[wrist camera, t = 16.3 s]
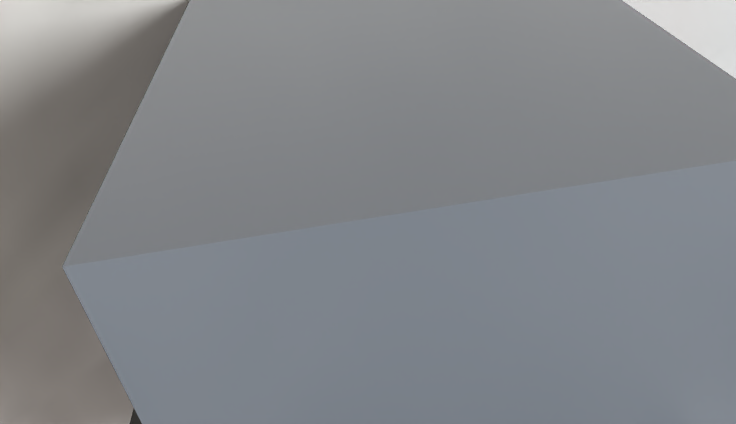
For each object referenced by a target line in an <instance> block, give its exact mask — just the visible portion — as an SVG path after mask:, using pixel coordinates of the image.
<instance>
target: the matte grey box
mask: <svg viewBox="0 0 736 424" xmlns="http://www.w3.org/2000/svg"><path fill="white" fill-rule="evenodd" d="M62 267H63V269H64V271H65V273H66V275H67V277H68V279H69V281H70V283H71V285H72V287H73V289H74V291H75V293H76V295H77V297H78V299H79V301H80V303H81V305H82V307H83V309H84V311H85V313H86V315H87V317H88V319H89V321H90V322H91V324H92V326H93V328H94V330H95V332H96V334H97V336H98V338H99V340H100V342H101V344H102V346H103V348H104V350H105V352H106V354H107V356H108V358H109V360H110V362H111V364H112V366H113V368H114V370H115V372H116V374H117V376H118V378H119V380H120V382H121V383H122V385H123V387H124V389H125V391H126V393H127V395H128V397H129V399H130V401H131V403H132V405H133V407H134V409H135V411H136V413H137V415H138V417H139V419H140V421H141V423H142V424H736V79H735V78H734V77H732V76H731V75H729V74H728V73H726V72H725V71H724V70H722V69H721V68H719V67H718V66H716V65H715V64H713V63H712V62H710V61H709V60H708V59H706V58H705V57H703V56H702V55H700V54H699V53H697V52H696V51H695V50H693V49H692V48H690V47H689V46H687V45H686V44H684V43H683V42H681V41H680V40H679V39H677V38H676V37H674V36H673V35H671V34H670V33H668V32H667V31H666V30H664V29H663V28H661V27H660V26H658V25H657V24H655V23H654V22H652V21H651V20H650V19H648V18H647V17H645V16H644V15H642V14H641V13H639V12H638V11H637V10H635V9H634V8H632V7H631V6H629V5H628V4H626V3H625V2H623V1H622V0H190V1H189V3H188V5H187V8H186V10H185V12H184V14H183V16H182V18H181V20H180V22H179V24H178V26H177V28H176V30H175V33H174V35H173V37H172V39H171V41H170V43H169V45H168V47H167V49H166V51H165V53H164V55H163V58H162V60H161V62H160V64H159V66H158V68H157V70H156V72H155V74H154V76H153V78H152V80H151V83H150V85H149V87H148V89H147V91H146V93H145V95H144V97H143V99H142V101H141V103H140V106H139V108H138V110H137V112H136V114H135V116H134V118H133V120H132V122H131V124H130V126H129V128H128V131H127V133H126V135H125V137H124V139H123V141H122V143H121V145H120V147H119V149H118V151H117V153H116V156H115V158H114V160H113V162H112V164H111V166H110V168H109V170H108V172H107V174H106V176H105V178H104V181H103V183H102V185H101V187H100V189H99V191H98V193H97V195H96V197H95V199H94V201H93V203H92V206H91V208H90V210H89V212H88V214H87V216H86V218H85V220H84V222H83V224H82V226H81V229H80V231H79V233H78V235H77V237H76V239H75V241H74V243H73V245H72V247H71V249H70V251H69V254H68V256H67V258H66V260H65V262H64V264H63V266H62Z"/></svg>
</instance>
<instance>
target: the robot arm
mask: <svg viewBox="0 0 736 424" xmlns="http://www.w3.org/2000/svg"><path fill="white" fill-rule="evenodd" d="M130 424H142V423H141V421H140V419H139V417H138V415H137V413H136V411H135V409H134V410H133V414H132V417H131V421H130Z"/></svg>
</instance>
